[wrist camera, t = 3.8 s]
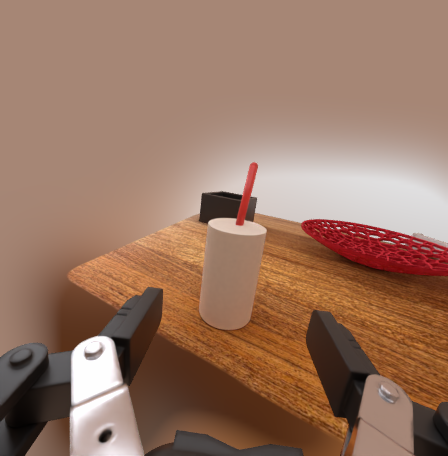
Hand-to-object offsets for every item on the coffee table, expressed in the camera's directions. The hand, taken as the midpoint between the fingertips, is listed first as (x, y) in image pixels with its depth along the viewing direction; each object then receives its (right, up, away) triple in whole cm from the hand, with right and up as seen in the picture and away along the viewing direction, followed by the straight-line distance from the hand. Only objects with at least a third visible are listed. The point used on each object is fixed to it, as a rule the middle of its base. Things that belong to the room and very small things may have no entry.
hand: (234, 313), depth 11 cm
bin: (0, +6, +51) cm, 51 cm away
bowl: (+30, -3, +34) cm, 46 cm away
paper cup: (-1, -5, +13) cm, 14 cm away
